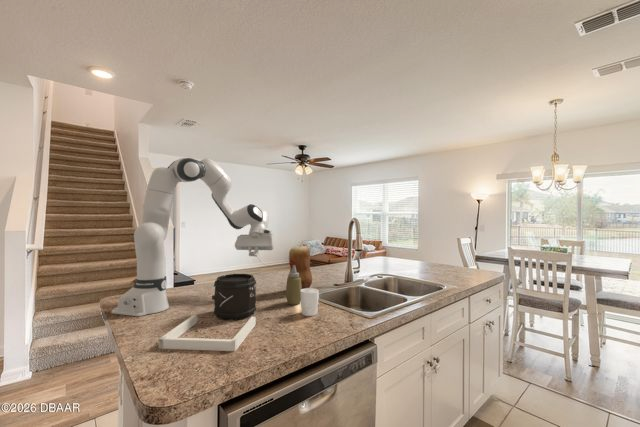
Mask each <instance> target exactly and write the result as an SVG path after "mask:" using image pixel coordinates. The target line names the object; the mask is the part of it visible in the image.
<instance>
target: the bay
mask: <svg viewBox="0 0 640 427" xmlns="http://www.w3.org/2000/svg"><path fill="white" fill-rule="evenodd" d="M256 318H257V317H256V316H250V317H249V318H248V321H247V322H245V324H244V325H243V326H242V328H241V329H240V330H238V332H237V334H236V335H234V336H233V338H232V339H231V338H227V339H226V338H224V339H223V338H202V337H201V338H199V337H197V338H196V337H195V338H194V337H181V336H182V335H183V334H184V333H186V332H187V331H188V330H190V329H191V328H192V327H193V326H195V325H196V324H198V315H196V314H193V315H192V316H190V317H188V318H187V319H185V320H184V321H183V322H181V323H180V324H178V325H177V326H175V327H174V328H172V329H171V330H169V331H168V332H166V333H165V334H164V335H163V336H161V337H160V338H159V339H158V349H159V350H160V349H161V350H163V349H164V350H189V351H190V350H192V351H193V350H194V351H217V352H218V351H221V352H236V351H237V350H238V348H239V347H240V346H241V344H242V343H243V341H244V340H245V339H246V338H247V337H248V335H249V334H250V333H251V331H252V330H253V328H254V327H255V326H256V324H257V323H256V322H257V319H256Z"/></svg>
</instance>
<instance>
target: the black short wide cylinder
mask: <svg viewBox="0 0 640 427" xmlns="http://www.w3.org/2000/svg"><path fill="white" fill-rule="evenodd" d="M256 285H257V281H256V279H255V277H254V274H248V273H229V274H225V275H221V276H220V275H219V276H218V277H216V280H214V284H213V287H214V295H213V294H212V296H211V300H213V301H214V302H213V303H214V308H213V309H214V310H213V314H214V315H215V317H216V319H219V320H222V321H239V320H243V319H244V320H245V319H249V318H251V317H252V316H253V315H255V311H257V306H256V303H257V302H256V301H257V289H256Z"/></svg>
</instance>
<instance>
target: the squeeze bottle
mask: <svg viewBox="0 0 640 427" xmlns="http://www.w3.org/2000/svg"><path fill="white" fill-rule="evenodd" d="M288 275H289V278H288V277H287V278H288V279H287V278H286V285H285V286H286V287H285V299H286V301H287V304H289V305H291V306H292V305H295V306H296V305H299V304H301V292H300V290H301V289H302V286H301V278H300V277H299V273H297V271H296V267H295V265H293V267H292V272H291V273H289V272H288Z"/></svg>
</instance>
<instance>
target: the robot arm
mask: <svg viewBox="0 0 640 427" xmlns="http://www.w3.org/2000/svg"><path fill="white" fill-rule="evenodd" d="M197 180H201V181H203V183H205V185H206V186H207V187H208V188H209V190H210V191H211V198H212V199H213V201H214V203H215V204H216V206H217V207H218V208H219V210H220V212H222V214H223V216H225V218H226V220H227V221H228V223H229V225H230V226H231V228H233V229H235V230H241V229H243V228H245V227H246V226H248V225H249V226H250V228H249V232H248V234H240V235H237V237H236V241H235V242H234V249H235V250H236V251H248V256H249V257H255V256H256V255H257V254H258V252H259V251H272V250H274V249H275V247H274V246H275V242H274V234H273V232H272V231H271V230H269V229H268V225H269V217H270V216H269V212H267V211H266V210H265V209H260V208H259V207H258V206H257V205H255V204H251V203H250V204H247V205H246V206H243V207H242V208H239V209H237V210H235V209H234V208H233V207H232V206H231V204H230V202H229V201H228V200H227V194H228V193H229V191H230V189H231V188H232V179H231V177H230V176H229V174H227V172H226V171H225V170H224V168H222V167H221V166H220V165H219V164H218V163H217V162H215V161H214V160H212V159H211V158H206V157H205V158H203V159H200V160H199V159H194V158H191V157H182V158H179V159H176V160H174V161H172V162H171V163H170V164H169V165H168V167H161V166H160V167H156V168H155V169H154V170H153V171H152V173H151V175H150V178H149V181H148V184H147V186H146V191H145V196H144V199H143V200H144V201H143V204H142V218H141V224H140V225H138V226H137V228H136V229H135V231H134V232H133V240H134V248H135V249H134V252H135V256H136V257H135V258H136V278H135V279H133V280H131V281H130V282H131V283H130V284H132V285H133V286H132V287H131V288H130V289H129V290H128V291H126V292H124V293H123V294H122V295H121V296H120V297H119V299H118V303H117V306H116V307H114V308H113V309H112V310H111V313H110V314H114V315H115V314H117V315H124V316H133V317H142V316H144V315H145V316H146V315H150V314H151V315H152V314H156V313H160V312H163V311H166V310H168V309H169V308H170V304H169V300H168V296H167V276H166V254H165V245H164V244H165V243H164V242H165V240H166V238H167V234H168V230H169V224H170V215H171V212H172V211H171V210H172V205H173V201H174V196H175V190H176V187H177V185H178V184H179V183H181V182H182V183H189V182H190V183H191V182H195V181H197Z"/></svg>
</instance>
